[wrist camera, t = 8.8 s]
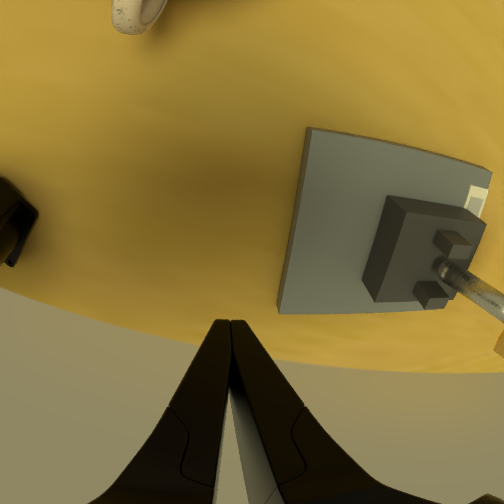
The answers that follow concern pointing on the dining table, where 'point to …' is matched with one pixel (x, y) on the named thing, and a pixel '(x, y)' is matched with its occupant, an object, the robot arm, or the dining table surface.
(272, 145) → the dining table surface
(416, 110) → the dining table surface
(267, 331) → the dining table surface
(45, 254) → the dining table surface
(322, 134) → the switch board
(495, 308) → the lever
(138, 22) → the teacup with lid
